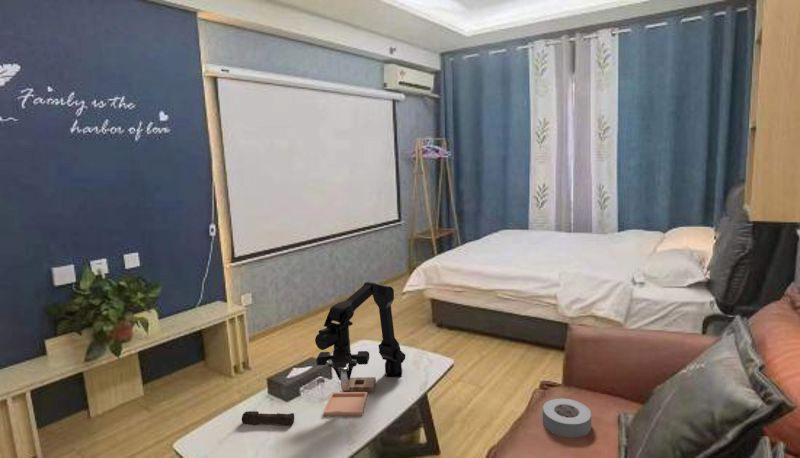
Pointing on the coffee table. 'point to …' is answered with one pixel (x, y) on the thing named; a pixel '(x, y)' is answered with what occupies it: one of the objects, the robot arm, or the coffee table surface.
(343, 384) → the metal pin
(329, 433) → the coffee table surface
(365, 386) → the clamp block
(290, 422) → the hand tool
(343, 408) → the terracotta dish
